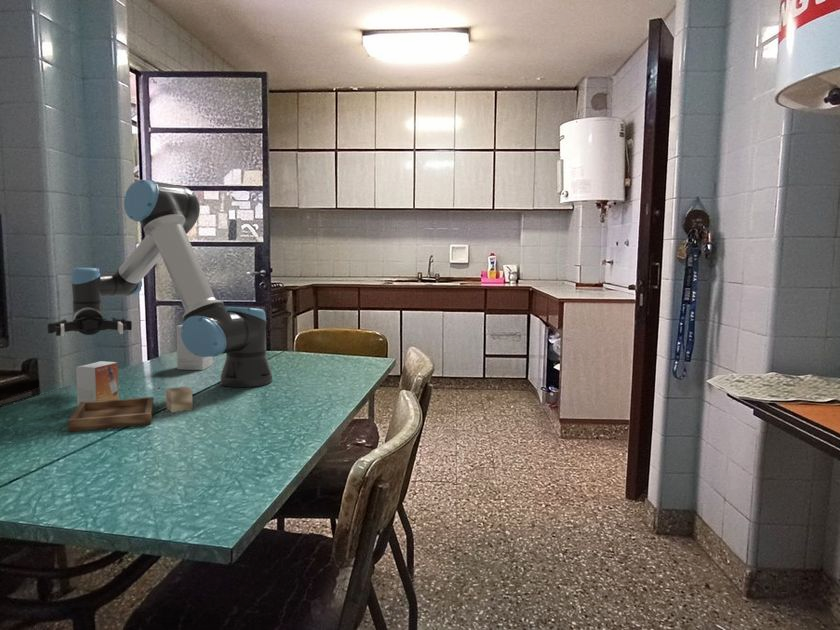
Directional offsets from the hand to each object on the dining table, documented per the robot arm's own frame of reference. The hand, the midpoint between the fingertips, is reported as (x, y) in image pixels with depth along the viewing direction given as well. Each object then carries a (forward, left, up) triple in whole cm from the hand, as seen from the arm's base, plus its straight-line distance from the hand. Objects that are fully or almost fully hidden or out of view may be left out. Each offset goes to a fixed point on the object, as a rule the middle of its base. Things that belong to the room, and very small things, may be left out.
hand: (92, 330), depth 148 cm
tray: (-7, +25, -18) cm, 31 cm away
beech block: (-21, +21, -18) cm, 35 cm away
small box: (-2, +10, -18) cm, 21 cm away
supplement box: (-26, -32, -18) cm, 45 cm away
